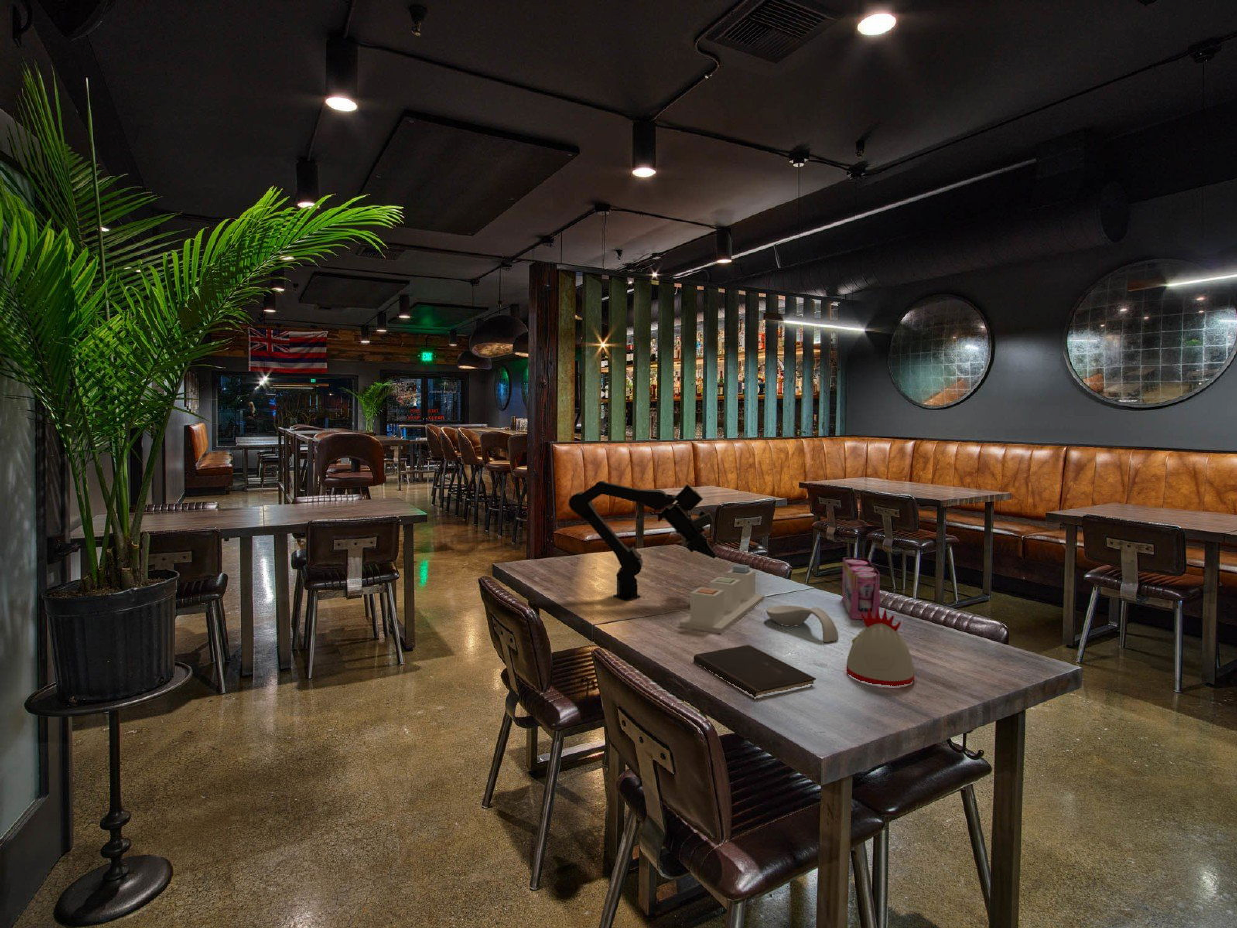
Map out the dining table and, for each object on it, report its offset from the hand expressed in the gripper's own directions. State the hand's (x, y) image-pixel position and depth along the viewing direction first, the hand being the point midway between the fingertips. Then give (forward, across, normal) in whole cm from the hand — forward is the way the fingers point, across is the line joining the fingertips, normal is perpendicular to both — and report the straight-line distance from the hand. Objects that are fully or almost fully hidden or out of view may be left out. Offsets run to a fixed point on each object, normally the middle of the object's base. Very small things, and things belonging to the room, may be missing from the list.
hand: (715, 557), depth 201 cm
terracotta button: (+4, -26, +8) cm, 27 cm away
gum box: (+40, -4, -20) cm, 45 cm away
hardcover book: (+15, -59, +6) cm, 61 cm away
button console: (+12, -13, +8) cm, 19 cm away
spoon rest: (+26, -25, -6) cm, 37 cm away
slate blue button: (+10, 0, -1) cm, 10 cm away
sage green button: (+8, -13, +4) cm, 15 cm away
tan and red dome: (+34, -56, -14) cm, 68 cm away
